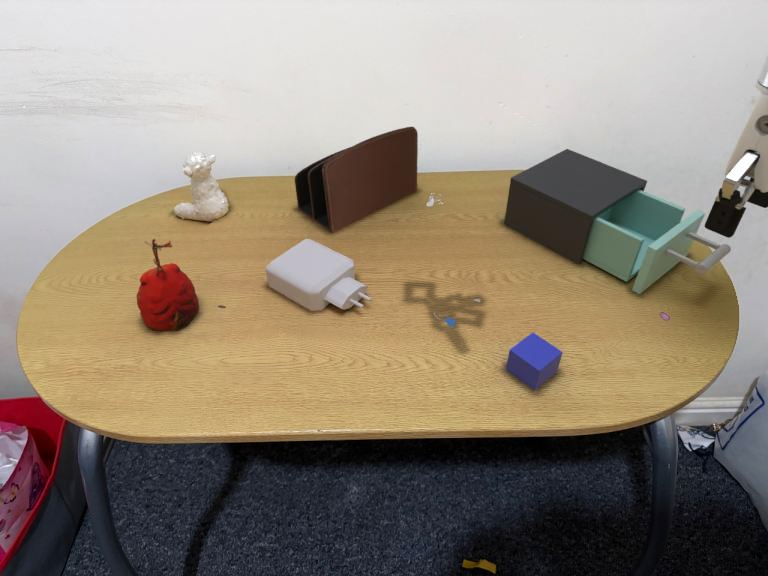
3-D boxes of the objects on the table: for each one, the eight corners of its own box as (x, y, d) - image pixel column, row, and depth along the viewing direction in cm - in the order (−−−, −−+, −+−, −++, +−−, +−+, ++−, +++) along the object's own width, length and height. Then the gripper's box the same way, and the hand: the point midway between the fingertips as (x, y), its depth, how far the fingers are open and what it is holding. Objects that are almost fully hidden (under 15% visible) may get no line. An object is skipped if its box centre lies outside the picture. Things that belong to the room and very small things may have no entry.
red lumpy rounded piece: (189, 295, 79) (158, 208, 69) (212, 319, 75) (184, 230, 65) (139, 320, 75) (99, 231, 65) (161, 347, 71) (122, 257, 61)
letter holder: (418, 195, 98) (419, 121, 89) (331, 237, 89) (323, 160, 80) (382, 175, 104) (380, 104, 95) (297, 213, 95) (286, 138, 85)
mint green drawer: (724, 273, 78) (747, 229, 73) (678, 315, 72) (699, 270, 67) (608, 219, 90) (620, 177, 84) (559, 251, 83) (569, 208, 78)
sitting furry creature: (218, 194, 100) (202, 133, 92) (247, 209, 96) (233, 147, 88) (174, 216, 95) (153, 153, 87) (202, 233, 91) (183, 169, 83)
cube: (527, 356, 68) (532, 331, 65) (556, 376, 66) (563, 352, 63) (504, 373, 66) (509, 349, 63) (533, 395, 64) (539, 371, 61)
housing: (630, 232, 88) (647, 180, 82) (577, 269, 81) (592, 216, 75) (556, 197, 97) (567, 148, 90) (503, 228, 90) (510, 177, 83)
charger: (345, 335, 72) (269, 290, 79) (388, 298, 77) (313, 260, 84) (342, 309, 69) (264, 265, 76) (387, 273, 74) (309, 235, 81)
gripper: (809, 109, 49) (735, 259, 60) (874, 65, 57) (798, 204, 68) (725, 87, 53) (671, 230, 64) (797, 50, 61) (737, 182, 72)
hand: (736, 217), depth 66 cm, fingers open, 9 cm apart
